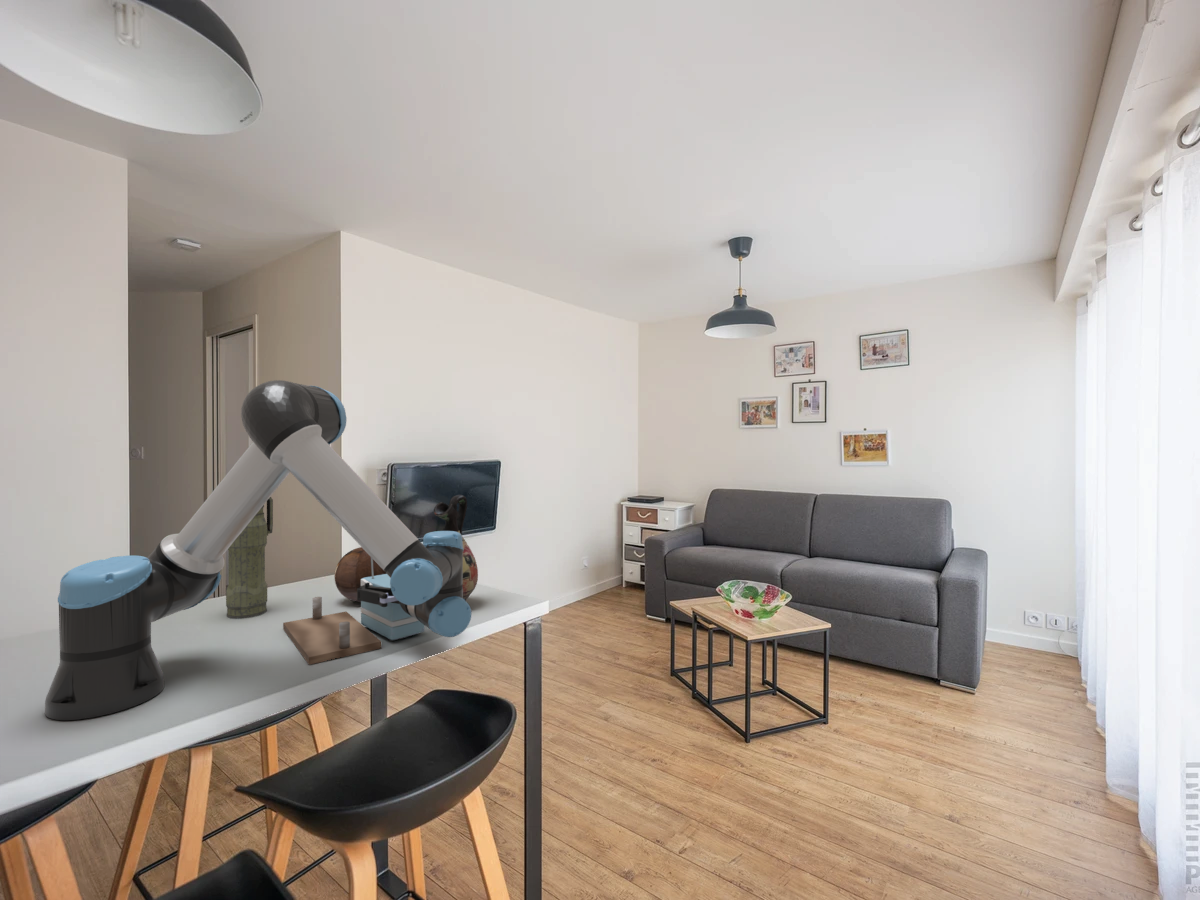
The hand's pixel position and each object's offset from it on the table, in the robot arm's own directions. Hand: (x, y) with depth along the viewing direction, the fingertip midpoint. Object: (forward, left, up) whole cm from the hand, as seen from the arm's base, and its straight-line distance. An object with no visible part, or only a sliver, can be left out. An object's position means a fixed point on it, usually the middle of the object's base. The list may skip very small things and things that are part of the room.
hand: (388, 580), depth 132 cm
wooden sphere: (+2, +26, -11) cm, 29 cm away
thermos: (-25, +33, -11) cm, 43 cm away
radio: (0, -4, -11) cm, 12 cm away
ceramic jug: (+19, +7, -11) cm, 23 cm away
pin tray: (-13, 0, -11) cm, 17 cm away
